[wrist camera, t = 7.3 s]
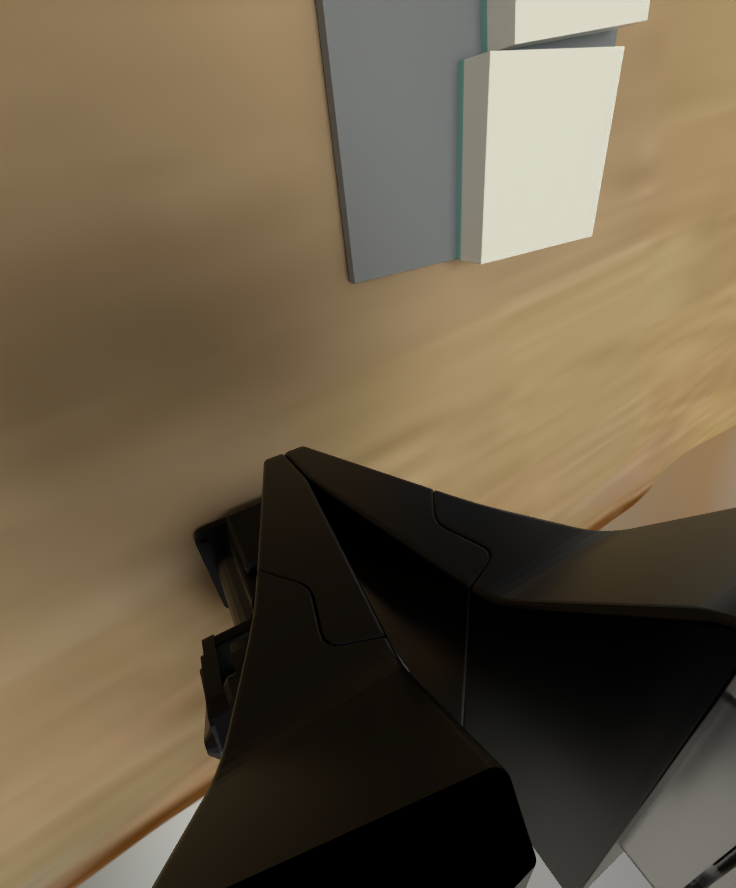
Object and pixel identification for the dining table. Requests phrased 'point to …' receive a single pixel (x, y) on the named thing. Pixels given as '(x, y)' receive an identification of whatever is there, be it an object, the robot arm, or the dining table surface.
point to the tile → (531, 147)
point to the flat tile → (553, 20)
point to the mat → (400, 123)
